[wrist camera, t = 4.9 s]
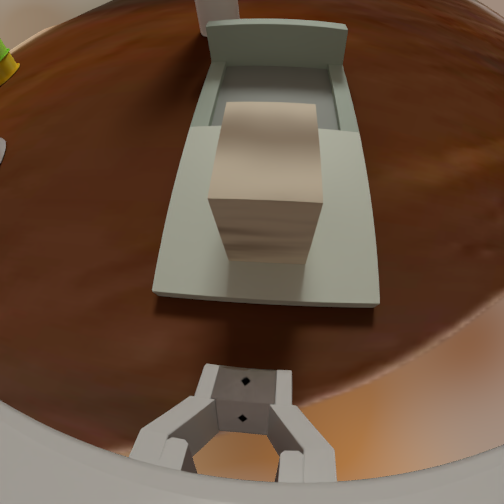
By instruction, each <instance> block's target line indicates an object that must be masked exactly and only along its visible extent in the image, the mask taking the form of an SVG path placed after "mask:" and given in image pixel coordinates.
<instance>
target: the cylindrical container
mask: <svg viewBox="0 0 504 504" xmlns="http://www.w3.org/2000/svg"><path fill="white" fill-rule="evenodd" d="M195 4H196V9H197V15H198V20H199V25H200V31H201V34H202V35H203V36H205V37H207V32H206V25H207V23H208V21H218V20H233V19H240V18H239V8H238V0H195Z"/></svg>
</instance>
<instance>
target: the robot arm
mask: <svg viewBox="0 0 504 504" xmlns="http://www.w3.org/2000/svg"><path fill="white" fill-rule="evenodd" d="M5 149H6V142H5V140H4V139H2V138H0V163H1V161H2V158H3V156H4V153H5ZM219 430H220V431H230V432H242V433H251V434H262V435H267V437H268V438H269V440H270V442H271V443H272V445H273V447H274V448H275V450H276V452H277V453H278V455H279V456H280V459H279V464H278V469H277V474H276V478H275V482H263V481H250V480H239V479H230V478H222V477H215V476H208V475H202V474H197V471H196V468H195V464H194V461H193V458H192V457H193V456H194V455H195V454H196V453H197V452H198V451H199V450H200V449H201V448H202V447H203V446H204V445H206V444H207V443H208V442H209V441H210V440H211V439H212V438H213V437H214V436H215V435H216V434H217V433H218V432H219ZM0 504H504V444H503V445H501V446H498V447H496V448H493V449H491V450H488V451H485V452H482V453H479V454H477V455H474V456H471V457H467V458H464V459H462V460H458V461H454V462H451V463H447V464H444V465H440V466H436V467H432V468H428V469H423V470H418V471H414V472H409V473H404V474H398V475H392V476H386V477H379V478H371V479H362V480H352V481H339V482H337V478H336V465H335V453H334V449H333V448H332V447H331V445H330V444H329V443H328V442H327V441H326V440H325V439H324V437H323V436H322V435H321V434H320V433H319V432H318V431H317V429H316V428H315V427H314V426H313V425H312V424H311V423H310V421H309V420H308V419H307V418H306V417H305V415H304V414H303V413H302V412H301V411H300V409H299V408H298V407H297V406H295V405H292V371H291V370H277V371H276V370H270V369H253V368H240V367H231V366H223V365H213V364H206V365H205V366H204V368H203V371H202V374H201V377H200V380H199V383H198V386H197V389H196V392H195V396H189V397H188V398H186V399H185V400H184V401H182V402H181V403H179V404H178V405H176V406H175V407H173V408H172V409H171V410H169V411H168V412H166V413H165V414H163V415H162V416H160V417H159V418H157V419H156V420H154V421H153V422H151V423H150V424H148V425H146V426H145V427H143V428H142V429H141V430H140V433H139V435H138V437H137V439H136V442H135V444H134V446H133V448H132V451H131V453H130V455H129V457H126V456H123V455H119V454H116V453H113V452H110V451H107V450H104V449H102V448H99V447H96V446H93V445H91V444H88V443H86V442H83V441H81V440H78V439H76V438H73V437H71V436H68V435H66V434H64V433H62V432H59V431H57V430H55V429H53V428H51V427H49V426H47V425H45V424H42V423H40V422H38V421H37V420H35V419H33V418H31V417H29V416H27V415H25V414H23V413H21V412H20V411H18V410H16V409H14V408H13V407H11V406H9V405H7V404H6V403H4V402H2V401H1V400H0Z"/></svg>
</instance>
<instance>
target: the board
mask: <svg viewBox="0 0 504 504" xmlns="http://www.w3.org/2000/svg"><path fill="white" fill-rule="evenodd" d="M206 32H207V38H208V44H209V49H210V55H211V60H212V62H211V65H210V68H209V71H208V74H207V76H206V79H205V82H204V85H203V88H202V91H201V94H200V97H199V100H198V103H197V107H196V110H195V113H194V116H193V119H192V123H191V126H190V129H189V133H188V136H187V140H186V143H185V147H184V150H183V154H182V157H181V161H180V165H179V168H178V172H177V176H176V180H175V184H174V188H173V192H172V196H171V200H170V204H169V209H168V213H167V217H166V222H165V226H164V231H163V236H162V241H161V245H160V250H159V255H158V261H157V266H156V271H155V277H154V282H153V288H152V291H153V292H154V293H155V294H157V295H158V296H165V297H176V298H187V299H199V300H211V301H224V302H239V303H254V304H272V305H293V306H318V307H359V308H374V307H376V306H377V305H378V304H380V295H379V277H378V262H377V250H376V240H375V230H374V221H373V213H372V205H371V198H370V191H369V184H368V178H367V172H366V166H365V160H364V155H363V150H362V144H361V139H360V135H359V130H358V125H357V121H356V116H355V112H354V108H353V103H352V99H351V95H350V91H349V88H348V84H347V80H346V76H345V73H344V69H343V66H342V65H343V59H344V52H345V46H346V39H347V33H348V29H347V27H346V25H345V24H338V23H330V22H321V21H310V20H294V19H233V20H218V21H208V23H207V25H206ZM226 102H287V103H305V104H316V113H317V123H318V134H319V145H320V158H321V172H322V189H323V206H322V209H321V213H320V216H319V220H318V223H317V227H316V230H315V234H314V237H313V241H312V244H311V247H310V251H309V254H308V257H307V261H306V264H285V263H265V262H245V261H229V260H228V257H227V254H226V251H225V248H224V245H223V243H222V240H221V237H220V234H219V231H218V228H217V225H216V222H215V219H214V216H213V213H212V210H211V208H210V205H209V202H208V199H207V198H208V192H209V187H210V181H211V176H212V171H213V165H214V160H215V155H216V150H217V145H218V140H219V135H220V130H221V125H222V121H223V116H224V111H225V107H226Z"/></svg>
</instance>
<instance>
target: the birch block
mask: <svg viewBox="0 0 504 504" xmlns="http://www.w3.org/2000/svg"><path fill="white" fill-rule="evenodd" d="M207 199H208V202H209V205H210V208H211V210H212V213H213V216H214V219H215V222H216V225H217V228H218V231H219V234H220V237H221V240H222V243H223V245H224V248H225V251H226V254H227V257H228V260H229V261H245V262H265V263H285V264H306V261H307V257H308V254H309V251H310V247H311V244H312V241H313V237H314V234H315V230H316V227H317V223H318V220H319V216H320V213H321V209H322V206H323V189H322V172H321V158H320V145H319V134H318V123H317V113H316V104H305V103H287V102H226V107H225V111H224V116H223V121H222V125H221V130H220V135H219V140H218V145H217V150H216V155H215V160H214V165H213V171H212V176H211V181H210V187H209V192H208V198H207Z"/></svg>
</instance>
